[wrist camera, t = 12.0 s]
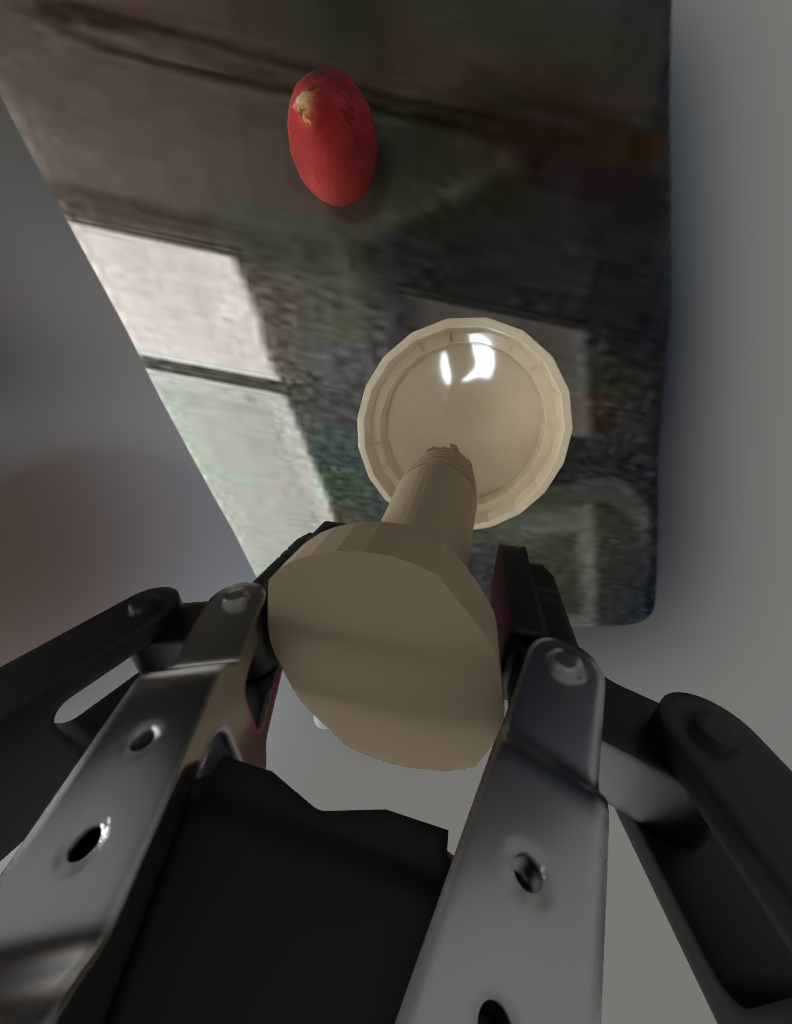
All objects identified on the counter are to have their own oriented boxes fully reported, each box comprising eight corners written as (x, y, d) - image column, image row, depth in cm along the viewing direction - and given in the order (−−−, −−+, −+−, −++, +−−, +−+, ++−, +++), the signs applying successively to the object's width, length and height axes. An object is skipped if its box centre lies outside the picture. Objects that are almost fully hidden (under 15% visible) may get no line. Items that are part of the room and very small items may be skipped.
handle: (479, 407, 17) (485, 542, 4) (489, 507, 20) (513, 785, 7) (400, 423, 19) (224, 558, 6) (419, 514, 21) (326, 753, 8)
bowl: (374, 329, 28) (352, 320, 23) (577, 324, 24) (602, 313, 19) (377, 498, 35) (362, 519, 30) (533, 515, 32) (543, 541, 27)
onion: (331, 107, 22) (263, -14, 15) (400, 138, 22) (364, 30, 15) (312, 207, 25) (248, 145, 18) (374, 236, 25) (333, 184, 18)
